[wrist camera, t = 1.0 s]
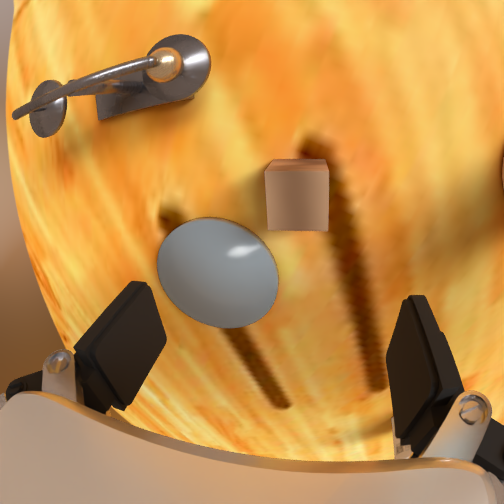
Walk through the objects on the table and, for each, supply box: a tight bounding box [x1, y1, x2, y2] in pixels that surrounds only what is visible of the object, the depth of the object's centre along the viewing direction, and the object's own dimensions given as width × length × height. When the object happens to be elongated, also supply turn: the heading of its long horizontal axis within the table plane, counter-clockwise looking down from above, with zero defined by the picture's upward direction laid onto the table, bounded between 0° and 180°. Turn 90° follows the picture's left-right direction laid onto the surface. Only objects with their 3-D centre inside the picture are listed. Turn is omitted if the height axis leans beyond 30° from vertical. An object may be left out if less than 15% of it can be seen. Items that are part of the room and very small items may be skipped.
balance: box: [12, 34, 211, 138], centre depth 20 cm, size 20×6×13 cm, turn 94°
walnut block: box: [264, 159, 329, 231], centre depth 25 cm, size 5×5×6 cm
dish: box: [157, 217, 279, 328], centre depth 34 cm, size 15×15×1 cm
